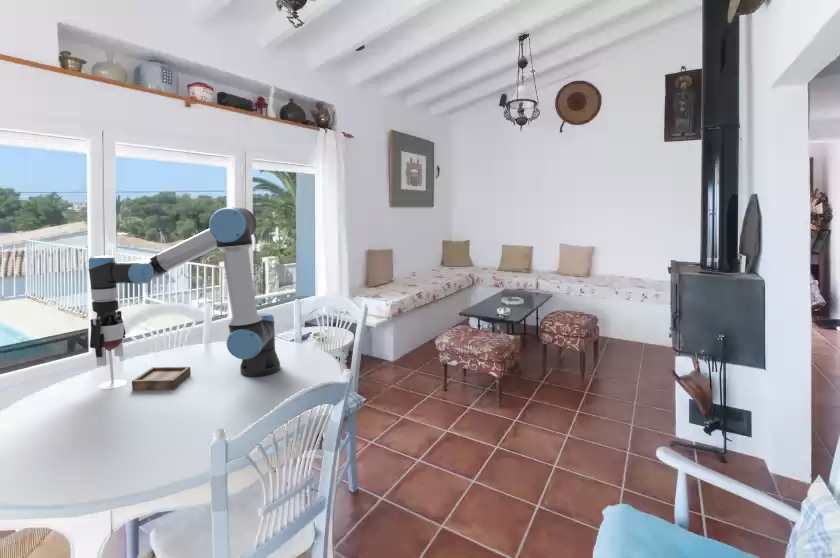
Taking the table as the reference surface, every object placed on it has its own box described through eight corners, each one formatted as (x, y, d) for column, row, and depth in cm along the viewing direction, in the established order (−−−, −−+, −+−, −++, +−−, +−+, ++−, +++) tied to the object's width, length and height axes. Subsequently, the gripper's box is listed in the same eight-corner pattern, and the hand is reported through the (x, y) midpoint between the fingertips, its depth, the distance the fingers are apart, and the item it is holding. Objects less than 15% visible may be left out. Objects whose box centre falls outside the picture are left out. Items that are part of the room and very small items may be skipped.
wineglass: (113, 390, 154) (107, 327, 151) (89, 387, 156) (83, 325, 152) (135, 380, 163) (129, 320, 159) (112, 378, 165) (106, 319, 161)
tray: (190, 375, 169) (190, 366, 169) (173, 389, 156) (173, 380, 155) (152, 375, 168) (152, 367, 168) (132, 390, 154) (131, 381, 154)
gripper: (112, 293, 165) (117, 351, 169) (71, 306, 143) (78, 371, 147) (133, 293, 166) (138, 350, 169) (96, 306, 144) (102, 371, 148)
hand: (110, 360), depth 158 cm, fingers open, 9 cm apart
